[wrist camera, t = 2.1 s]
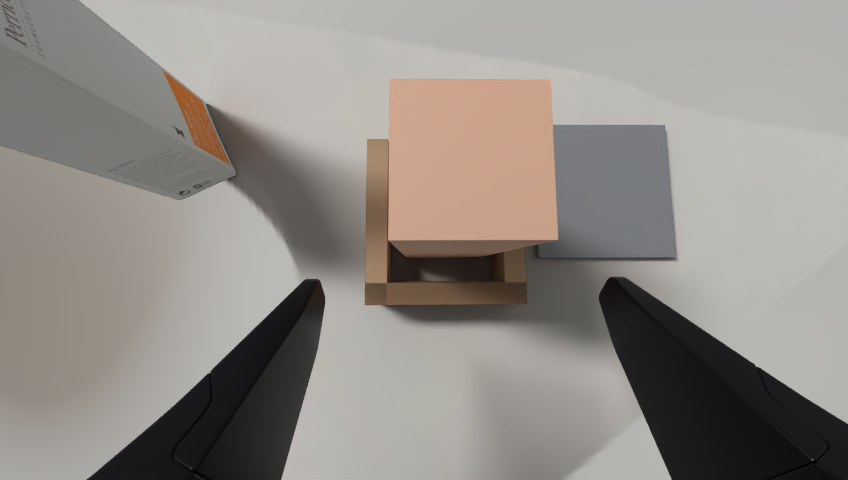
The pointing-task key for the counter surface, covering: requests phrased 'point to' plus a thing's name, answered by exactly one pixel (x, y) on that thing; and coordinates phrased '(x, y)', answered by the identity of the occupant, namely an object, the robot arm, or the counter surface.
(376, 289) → the u-shaped frame
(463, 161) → the block
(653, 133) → the mat
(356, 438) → the counter surface
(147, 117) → the skincare box
